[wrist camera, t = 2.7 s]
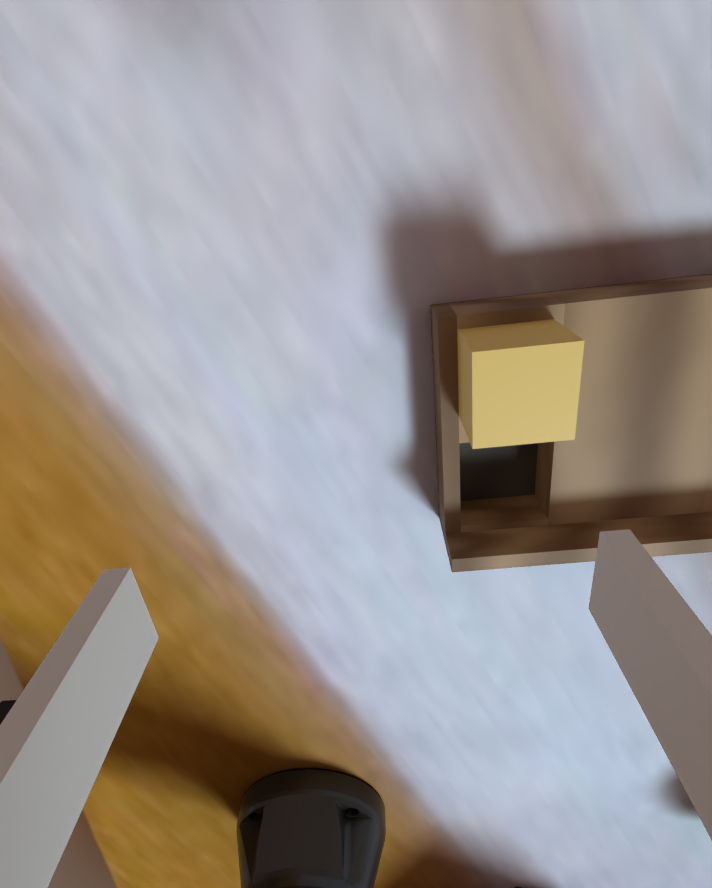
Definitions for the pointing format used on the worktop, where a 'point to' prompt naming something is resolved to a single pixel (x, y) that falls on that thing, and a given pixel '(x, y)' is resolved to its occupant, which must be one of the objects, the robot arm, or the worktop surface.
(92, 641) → the robot arm
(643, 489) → the box
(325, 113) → the worktop surface
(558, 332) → the block
